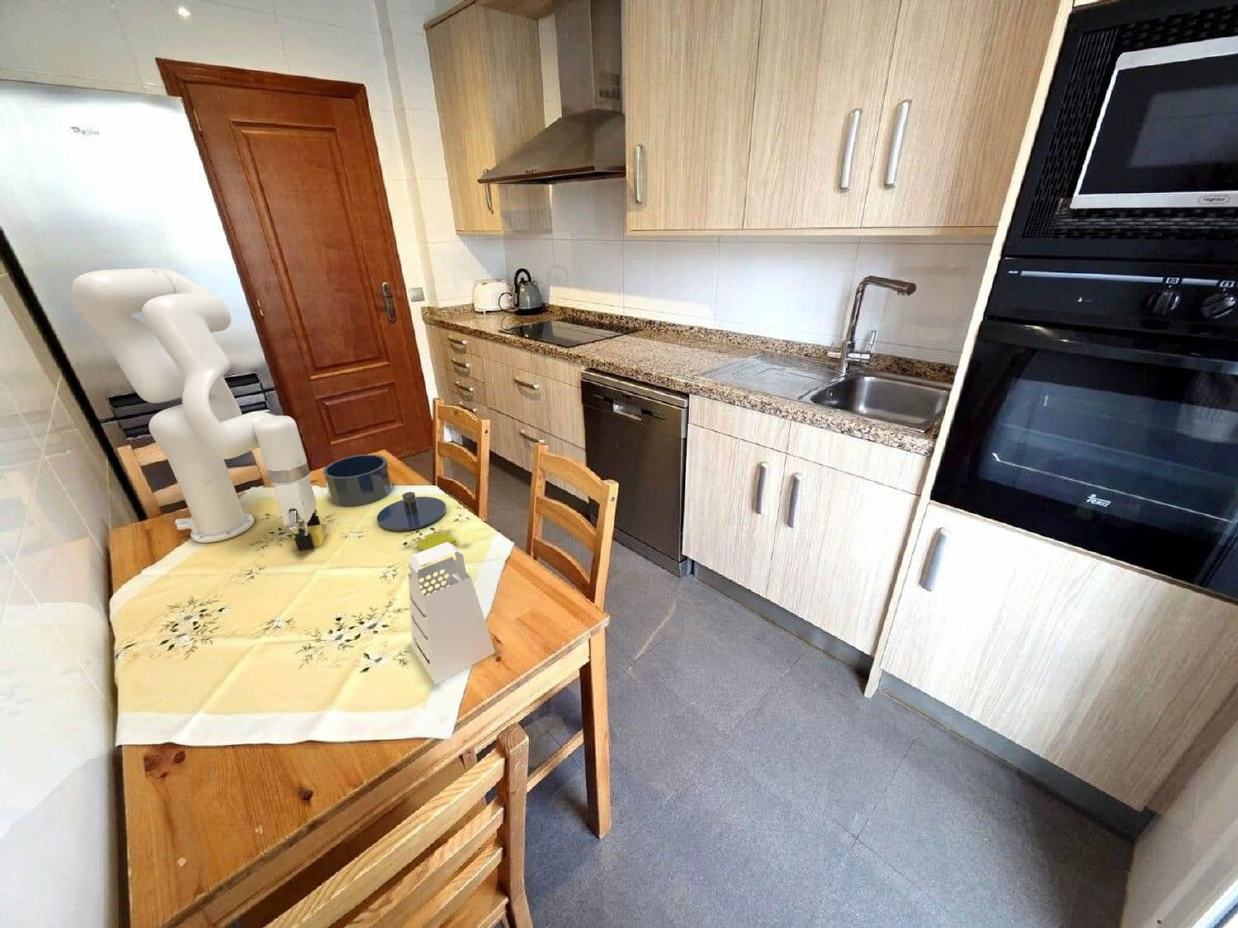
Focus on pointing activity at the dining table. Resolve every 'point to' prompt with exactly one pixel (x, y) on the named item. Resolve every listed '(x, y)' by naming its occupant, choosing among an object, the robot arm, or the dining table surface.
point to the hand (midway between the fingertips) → (310, 539)
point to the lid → (411, 512)
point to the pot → (358, 480)
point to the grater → (446, 615)
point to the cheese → (316, 534)
